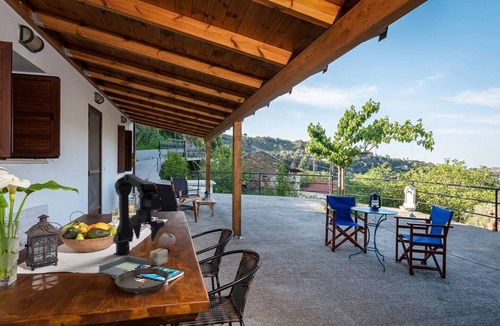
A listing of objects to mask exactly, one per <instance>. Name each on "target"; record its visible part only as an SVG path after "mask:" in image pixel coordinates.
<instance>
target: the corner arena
mask: <svg viewBox="0 0 500 326" xmlns="http://www.w3.org/2000/svg"><path fill="white" fill-rule="evenodd" d="M141 264H146V265H152V260H150V258H149V259H148V258H143V257H136V256H131V255H125V256H123V257H120V258H117V259H115V260H112V261H109V262H106V263H103V264H100V265H99V266H98V267H99V268H98V273H99V274H105V275H109V276H113V277H117V276H119V275H121V274H122V273H125V272H124V271H128V270H132V269H135V268H137V266H139V265H141ZM152 266H153V265H152Z"/></svg>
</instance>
